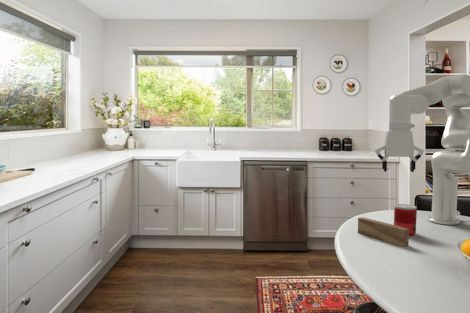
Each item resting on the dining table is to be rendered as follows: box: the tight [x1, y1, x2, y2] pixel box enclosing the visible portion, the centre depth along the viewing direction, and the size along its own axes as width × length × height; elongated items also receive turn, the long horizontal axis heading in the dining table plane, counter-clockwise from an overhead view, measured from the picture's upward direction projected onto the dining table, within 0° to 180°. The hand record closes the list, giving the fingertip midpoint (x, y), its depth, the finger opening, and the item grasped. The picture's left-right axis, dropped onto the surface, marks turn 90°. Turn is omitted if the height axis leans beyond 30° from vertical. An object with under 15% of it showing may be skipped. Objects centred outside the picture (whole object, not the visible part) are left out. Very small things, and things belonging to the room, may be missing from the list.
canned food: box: [393, 203, 418, 237], centre depth 144 cm, size 8×8×11 cm
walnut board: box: [357, 216, 410, 247], centre depth 137 cm, size 3×20×6 cm, turn 31°
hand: (398, 171), depth 141 cm, fingers open, 9 cm apart
